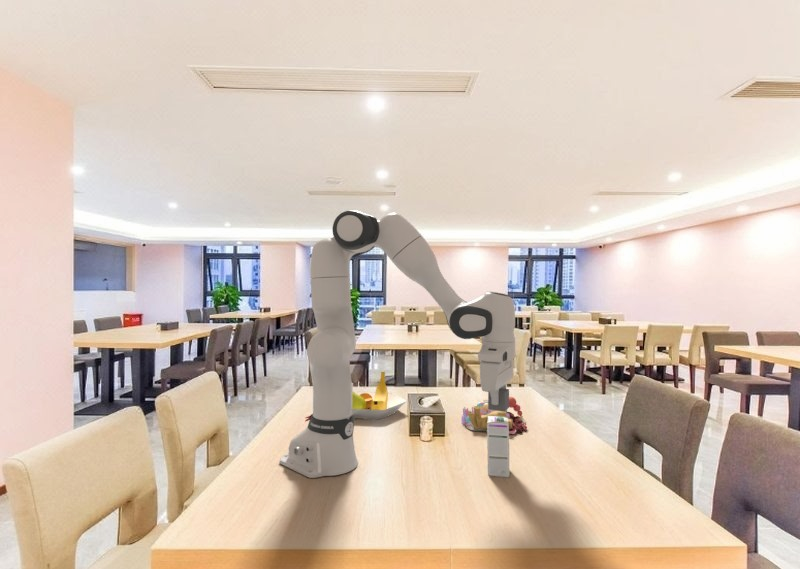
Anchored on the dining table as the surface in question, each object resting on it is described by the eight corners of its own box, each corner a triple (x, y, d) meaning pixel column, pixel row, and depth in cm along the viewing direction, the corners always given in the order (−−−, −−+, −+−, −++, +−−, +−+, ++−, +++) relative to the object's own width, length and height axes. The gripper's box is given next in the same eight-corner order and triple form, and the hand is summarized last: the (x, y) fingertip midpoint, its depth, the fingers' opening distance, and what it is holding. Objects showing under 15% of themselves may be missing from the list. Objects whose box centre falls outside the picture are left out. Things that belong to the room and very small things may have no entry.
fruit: (328, 406, 173) (329, 372, 173) (385, 399, 184) (385, 367, 184) (350, 428, 146) (351, 387, 146) (415, 419, 157) (415, 381, 157)
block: (488, 409, 110) (488, 390, 110) (492, 405, 114) (492, 387, 114) (504, 411, 108) (504, 392, 108) (509, 407, 112) (509, 389, 112)
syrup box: (509, 477, 108) (510, 423, 108) (487, 475, 109) (487, 421, 109) (508, 468, 113) (508, 416, 114) (486, 466, 115) (487, 415, 115)
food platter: (531, 438, 137) (531, 411, 137) (460, 434, 141) (461, 407, 141) (522, 416, 162) (522, 392, 162) (462, 412, 166) (462, 390, 166)
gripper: (497, 345, 122) (497, 391, 122) (475, 355, 104) (475, 409, 104) (518, 347, 119) (518, 394, 119) (500, 357, 101) (500, 413, 101)
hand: (498, 401), depth 111 cm, fingers closed on block, 4 cm apart
